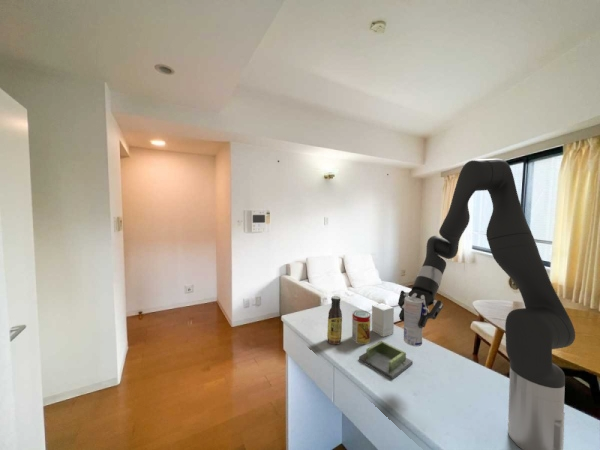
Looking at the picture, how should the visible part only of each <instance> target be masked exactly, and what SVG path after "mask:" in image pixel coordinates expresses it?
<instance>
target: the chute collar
mask: <svg viewBox="0 0 600 450" xmlns="http://www.w3.org/2000/svg"><path fill="white" fill-rule="evenodd" d="M365 351H366V352H365V353H363V354H361V355H359V356H358V360H359V361H361V363H364V364H366V365H367V366H369V367H370V368H373V369H374V370H376V371H377V372H378V373H380V374H382V375H384V376H385V377H387V378H388V379H390V380H394V379H396V378H397V377H398V376H399V375H401V374H402V373H403V372H405V371H406V370H407V369H409V368H410V367H411V366H412V365H413V363H414V361H413V360H412V359H410V358H407V353H406V352H405V351H403V350H401V349H399V348H397V347H395V346H393V345H391V344H389V343H387V342H384V341H383V340H380V341H379V342H377V343H375V344H373V345H371V346H370V347H368V348H366V350H365Z"/></svg>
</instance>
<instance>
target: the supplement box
mask: <svg viewBox="0 0 600 450" xmlns="http://www.w3.org/2000/svg"><path fill="white" fill-rule="evenodd" d="M394 310H395V309H394V306H393V307H392V306H390V305H388V304H386V303H384V302H382V303H378V304H377V303H376V304H373V305H372V306H371V331H372V332H374V333H376V334H377V335H379V336H381V337H383V338H384V337H387V336H390V335H393V334H394V333H395V332H394V331H395V328H394V327H395V318H394V316H395V312H394Z"/></svg>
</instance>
